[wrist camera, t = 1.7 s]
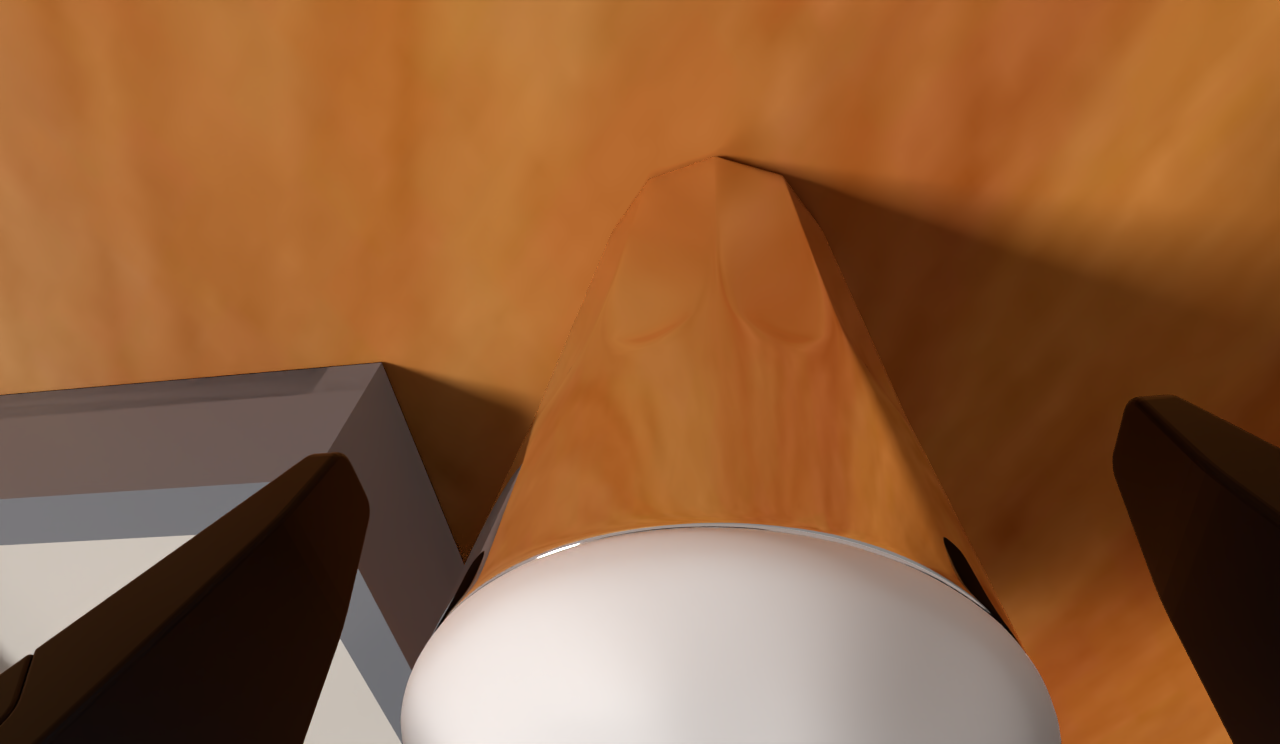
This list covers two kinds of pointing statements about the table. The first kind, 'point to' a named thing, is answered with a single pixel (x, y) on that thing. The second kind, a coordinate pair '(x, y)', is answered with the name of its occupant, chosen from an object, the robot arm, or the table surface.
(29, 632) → the gray square tray
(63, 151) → the table surface
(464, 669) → the milkshake
